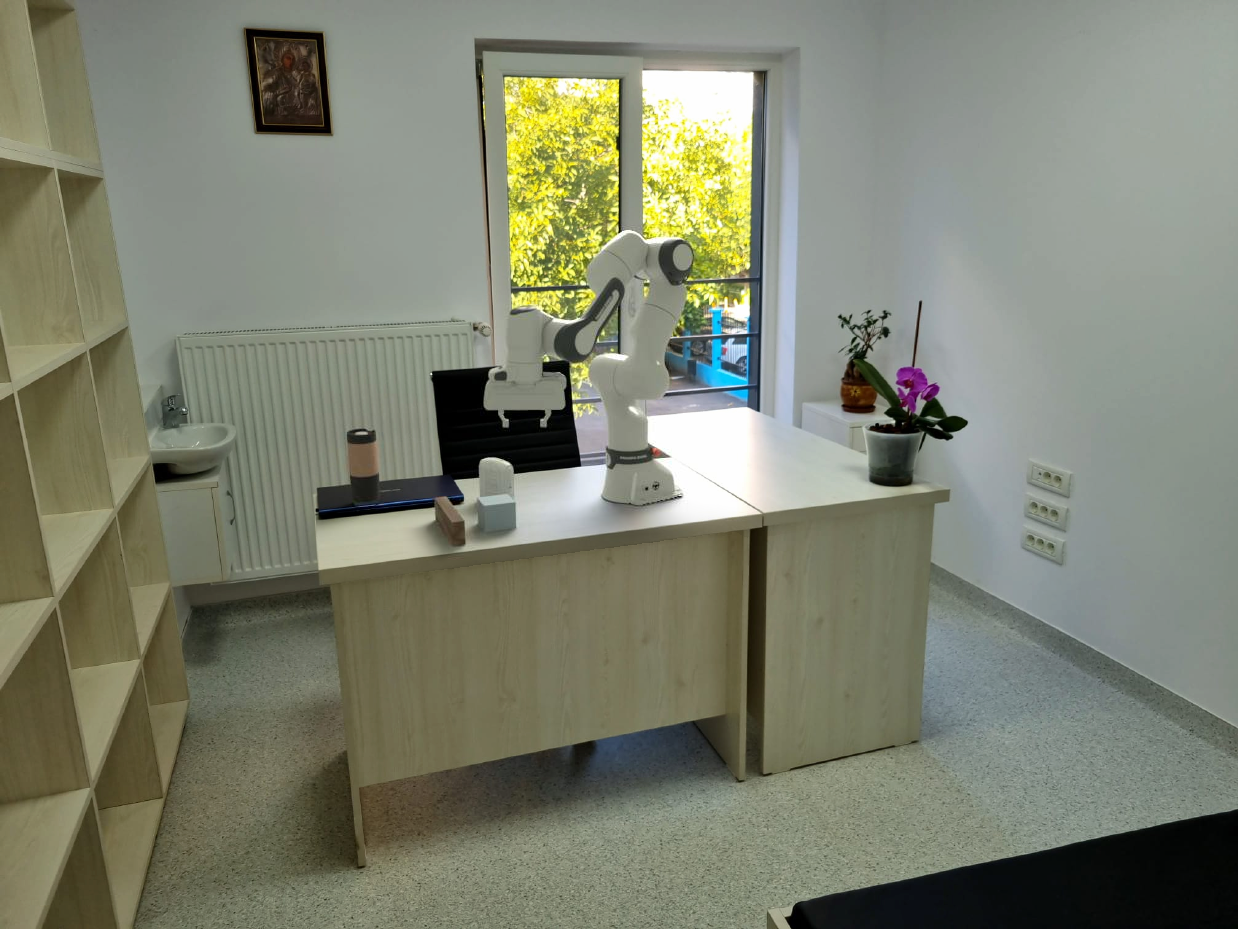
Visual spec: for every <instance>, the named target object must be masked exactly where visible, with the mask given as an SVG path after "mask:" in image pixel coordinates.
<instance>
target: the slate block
mask: <svg viewBox="0 0 1238 929" xmlns="http://www.w3.org/2000/svg"><path fill="white" fill-rule="evenodd" d="M476 504H477V505H476V506H477V524H478V525H479V526H480V528H481V529H482V530H483V531H484V533H491V532H498V531H497V530H499V531H505V530H513V529H517V508H516V506H517V505H516V504H517V503H516V501H515V499H514V500H513V499H512V498H511V497H510V496H509V495H508V494H503V495H495V496H486V497H480V496H479V497H477V498H476Z"/></svg>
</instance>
